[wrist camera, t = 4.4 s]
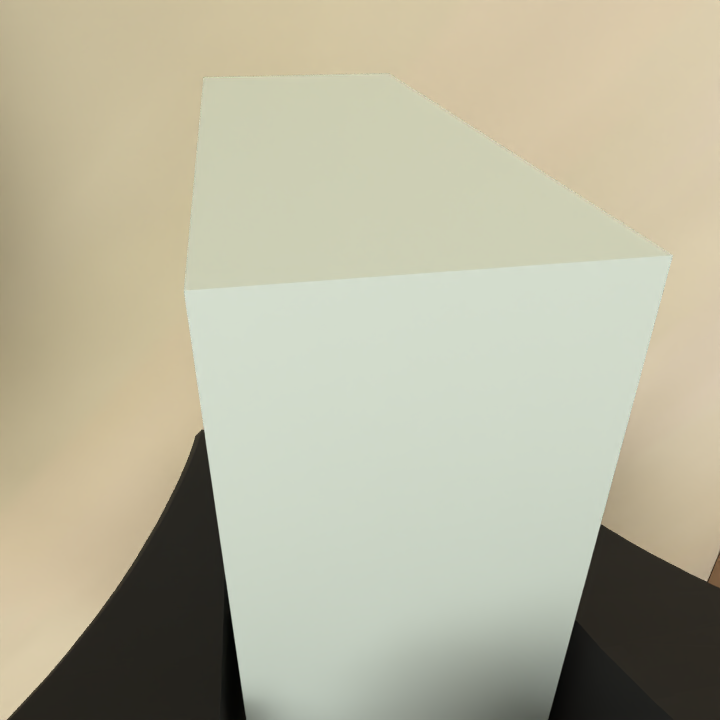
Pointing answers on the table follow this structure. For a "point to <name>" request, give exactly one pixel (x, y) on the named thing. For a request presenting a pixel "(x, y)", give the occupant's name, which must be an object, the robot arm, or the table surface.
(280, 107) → the door panel
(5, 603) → the table surface
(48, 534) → the table surface
